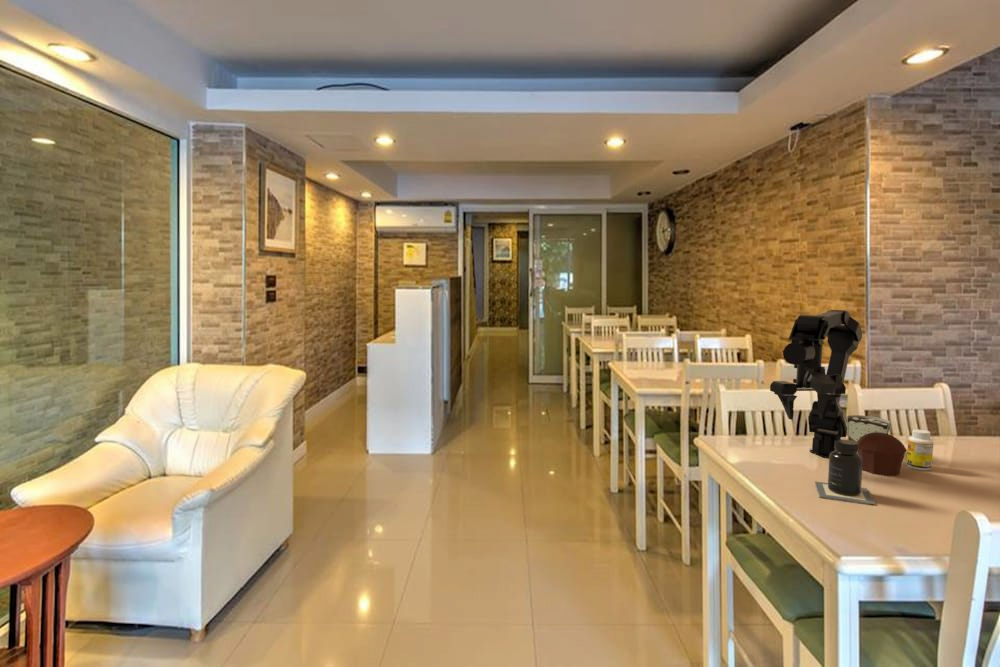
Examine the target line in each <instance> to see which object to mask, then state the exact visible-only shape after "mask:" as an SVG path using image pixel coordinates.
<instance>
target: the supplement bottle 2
mask: <svg viewBox="0 0 1000 667" xmlns="http://www.w3.org/2000/svg"><path fill="white" fill-rule="evenodd" d="M934 443H935V442H934V440H933V439H932V438H931V432H930V431H929V430H926V429H925V430H924V429H917V428H915V429H912V434H911V435H910V436H909V437H908V440H907V451H906V455H907V456H906V466H907V467H909V468H911V469H913V470H916V469H918V471H930V470H931V469H932V467H933V466H932V465H933V457H934V456H933V454H934Z"/></svg>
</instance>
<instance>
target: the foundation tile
mask: <svg viewBox="0 0 1000 667" xmlns="http://www.w3.org/2000/svg"><path fill="white" fill-rule="evenodd" d="M814 484H815V488H816V491H817V494H818V497H819V499H825V498H827V500H832V499H835V500H834V501H840V500H842V502H847V501H850V502H849V503H854V502H857V503H856V504H861V503H864V504H863V505H868V504H873V505H872V506H876V502H875V501H874V499H873V497H872V495H871V494H870V492H869V490H868V488H867V487H861V493H860V494H859V495H856V496H846V495H840V494H837V493H834V492H832V491H830V490H829V488H828V482H822V481H814Z"/></svg>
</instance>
